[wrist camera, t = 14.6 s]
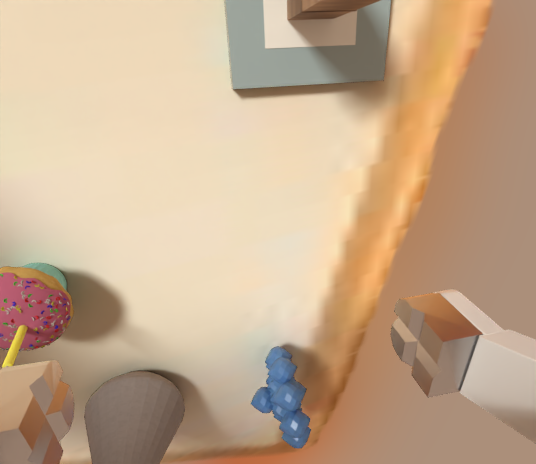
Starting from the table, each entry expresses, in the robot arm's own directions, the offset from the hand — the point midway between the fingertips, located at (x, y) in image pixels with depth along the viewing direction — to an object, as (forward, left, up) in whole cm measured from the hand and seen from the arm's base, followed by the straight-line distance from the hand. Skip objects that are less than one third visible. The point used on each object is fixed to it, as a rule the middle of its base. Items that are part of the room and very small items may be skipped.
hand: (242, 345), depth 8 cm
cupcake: (-6, -22, -27) cm, 36 cm away
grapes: (+22, -19, -27) cm, 40 cm away
